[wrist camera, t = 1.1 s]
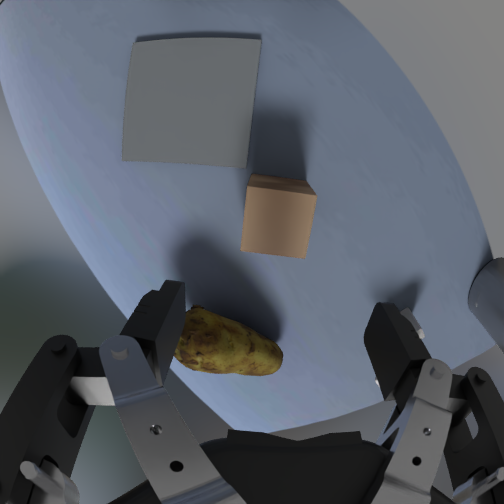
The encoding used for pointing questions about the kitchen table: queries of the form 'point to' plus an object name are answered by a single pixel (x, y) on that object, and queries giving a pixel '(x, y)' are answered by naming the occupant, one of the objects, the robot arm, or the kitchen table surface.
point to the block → (278, 216)
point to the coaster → (191, 101)
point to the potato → (225, 346)
